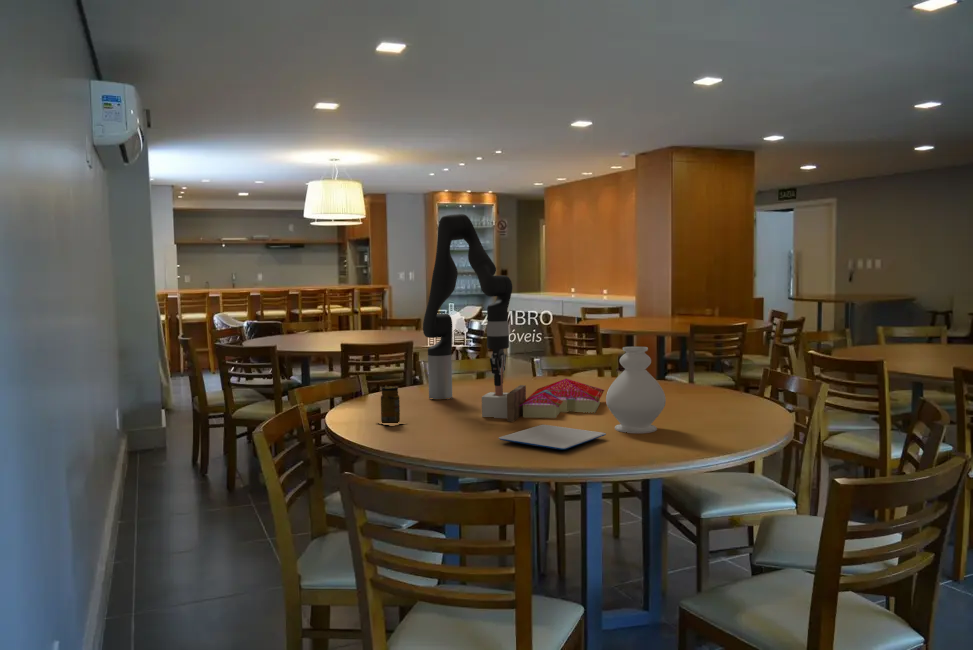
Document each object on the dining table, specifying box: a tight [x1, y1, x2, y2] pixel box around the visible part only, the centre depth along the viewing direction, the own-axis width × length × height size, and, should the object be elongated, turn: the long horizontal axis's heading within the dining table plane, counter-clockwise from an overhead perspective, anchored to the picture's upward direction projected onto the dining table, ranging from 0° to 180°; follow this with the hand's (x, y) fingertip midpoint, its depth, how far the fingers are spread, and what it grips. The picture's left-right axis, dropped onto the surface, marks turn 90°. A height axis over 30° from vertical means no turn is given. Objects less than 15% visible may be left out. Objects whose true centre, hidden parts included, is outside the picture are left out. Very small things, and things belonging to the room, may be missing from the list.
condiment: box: [380, 385, 401, 423], centre depth 239 cm, size 7×8×12 cm
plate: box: [498, 424, 607, 451], centre depth 209 cm, size 22×22×2 cm
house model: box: [520, 378, 605, 419], centre depth 260 cm, size 38×25×10 cm
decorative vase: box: [605, 346, 667, 434], centre depth 223 cm, size 18×18×25 cm
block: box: [481, 391, 509, 419], centre depth 250 cm, size 10×10×7 cm
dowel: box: [494, 368, 504, 396], centre depth 249 cm, size 3×3×12 cm
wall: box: [506, 384, 527, 423], centre depth 248 cm, size 20×2×9 cm, turn 165°
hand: (498, 384), depth 249 cm, fingers closed on dowel, 2 cm apart
